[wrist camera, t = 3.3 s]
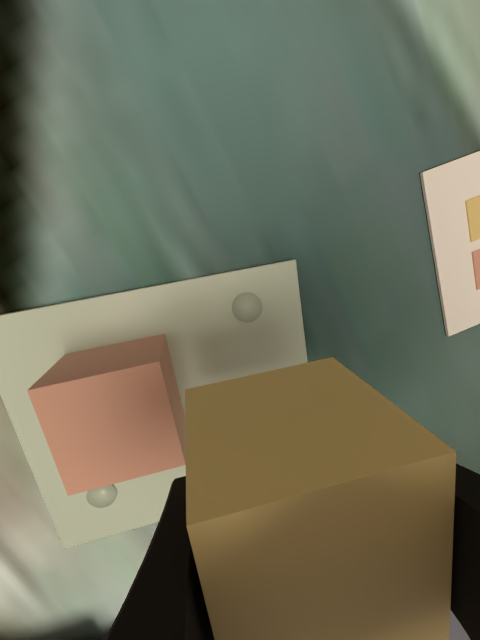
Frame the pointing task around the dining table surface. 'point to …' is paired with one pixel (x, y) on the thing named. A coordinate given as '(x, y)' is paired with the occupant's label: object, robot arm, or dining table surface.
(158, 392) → the terracotta brick
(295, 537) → the ochre brick
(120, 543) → the dining table surface
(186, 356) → the plate
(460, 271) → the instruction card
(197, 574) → the robot arm
